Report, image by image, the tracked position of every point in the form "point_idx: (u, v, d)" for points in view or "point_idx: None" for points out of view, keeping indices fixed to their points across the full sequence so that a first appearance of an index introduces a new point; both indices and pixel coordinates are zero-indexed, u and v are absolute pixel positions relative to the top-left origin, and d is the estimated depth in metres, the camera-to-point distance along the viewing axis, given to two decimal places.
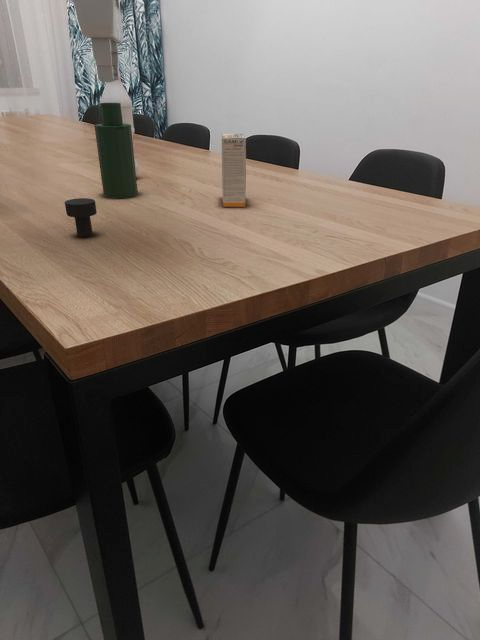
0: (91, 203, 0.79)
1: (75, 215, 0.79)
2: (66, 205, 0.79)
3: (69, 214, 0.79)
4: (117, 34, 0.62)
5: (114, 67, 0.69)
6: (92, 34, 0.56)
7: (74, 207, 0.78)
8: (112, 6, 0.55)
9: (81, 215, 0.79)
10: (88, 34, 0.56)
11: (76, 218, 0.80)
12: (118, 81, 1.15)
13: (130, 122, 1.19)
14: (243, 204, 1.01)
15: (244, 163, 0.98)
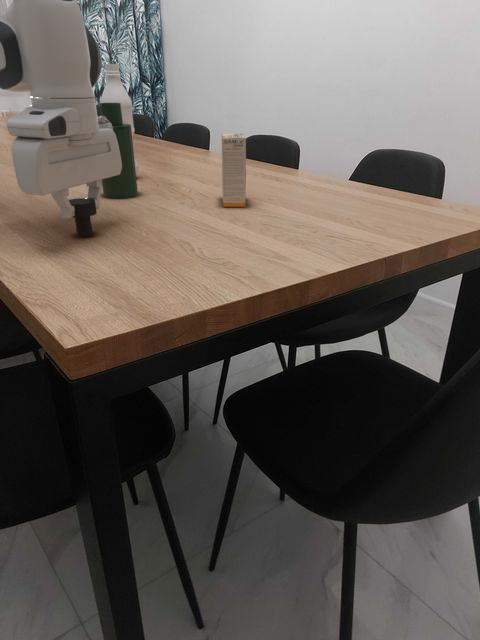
0: (91, 203, 0.79)
1: None
2: None
3: None
4: (74, 183, 0.76)
5: None
6: (29, 193, 0.71)
7: None
8: (38, 175, 0.69)
9: (81, 215, 0.79)
10: (27, 193, 0.71)
11: (76, 218, 0.80)
12: (118, 81, 1.15)
13: (130, 122, 1.19)
14: (243, 204, 1.01)
15: (244, 163, 0.98)
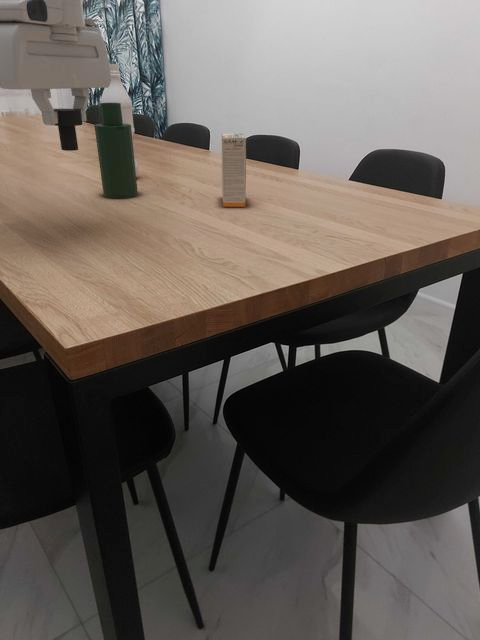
0: (76, 111, 0.73)
1: None
2: None
3: None
4: (57, 84, 0.69)
5: None
6: (6, 87, 0.64)
7: None
8: (15, 64, 0.62)
9: (65, 123, 0.72)
10: (3, 88, 0.65)
11: (60, 128, 0.74)
12: (118, 81, 1.15)
13: (130, 122, 1.19)
14: (243, 204, 1.01)
15: (244, 163, 0.98)
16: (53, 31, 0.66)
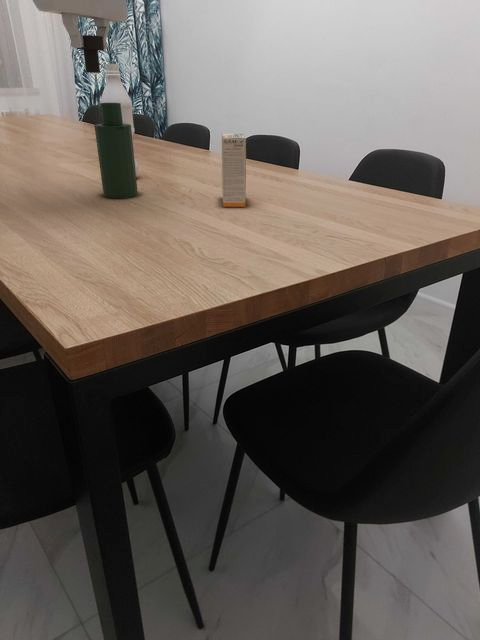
0: (99, 36, 0.85)
1: None
2: None
3: None
4: (83, 10, 0.82)
5: None
6: (42, 9, 0.77)
7: None
8: None
9: (90, 47, 0.85)
10: (40, 10, 0.77)
11: (85, 52, 0.86)
12: (118, 81, 1.15)
13: (130, 122, 1.19)
14: (243, 204, 1.01)
15: (244, 163, 0.98)
16: None
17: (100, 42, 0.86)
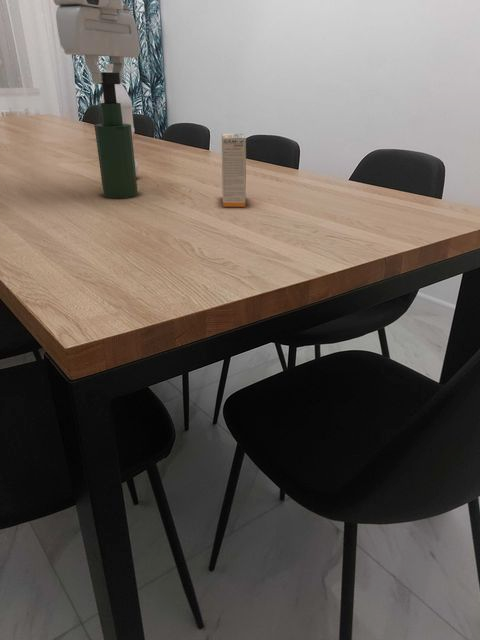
0: (116, 73, 0.97)
1: None
2: None
3: None
4: (103, 52, 0.94)
5: None
6: (69, 53, 0.89)
7: None
8: (77, 35, 0.87)
9: (108, 82, 0.97)
10: (67, 53, 0.89)
11: (104, 86, 0.98)
12: None
13: (130, 122, 1.19)
14: (243, 204, 1.01)
15: (244, 163, 0.98)
16: (101, 12, 0.91)
17: (117, 78, 0.98)
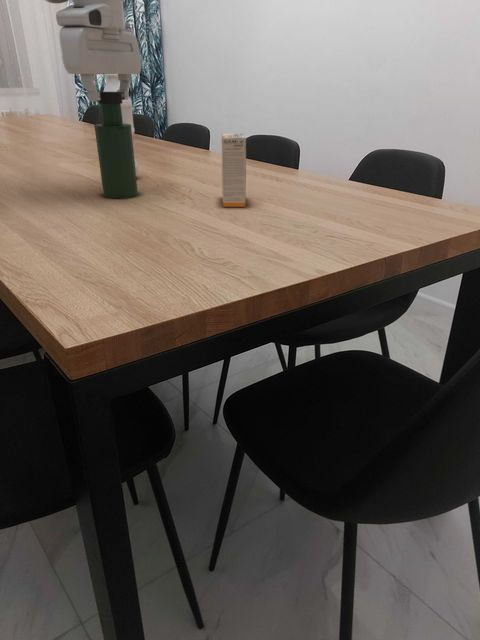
0: (118, 93, 0.99)
1: (106, 102, 0.99)
2: None
3: (101, 101, 0.99)
4: (105, 70, 0.95)
5: (122, 91, 1.03)
6: (72, 72, 0.91)
7: (105, 95, 0.98)
8: (80, 56, 0.88)
9: (110, 102, 0.99)
10: (70, 73, 0.91)
11: None
12: (118, 81, 1.15)
13: (130, 122, 1.19)
14: (243, 204, 1.01)
15: (244, 163, 0.98)
16: (104, 32, 0.92)
17: (119, 97, 1.00)
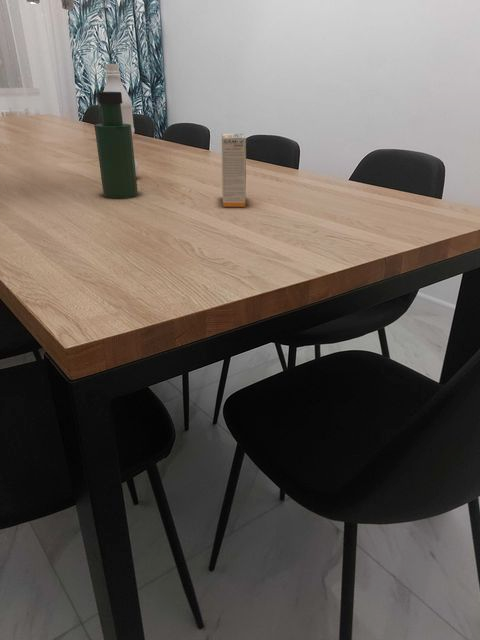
0: (118, 93, 0.99)
1: (106, 102, 0.99)
2: (99, 94, 0.98)
3: (101, 101, 0.99)
4: None
5: None
6: None
7: (105, 95, 0.98)
8: None
9: (110, 102, 0.99)
10: None
11: None
12: (118, 81, 1.15)
13: (130, 122, 1.19)
14: (243, 204, 1.01)
15: (244, 163, 0.98)
16: None
17: (119, 97, 1.00)
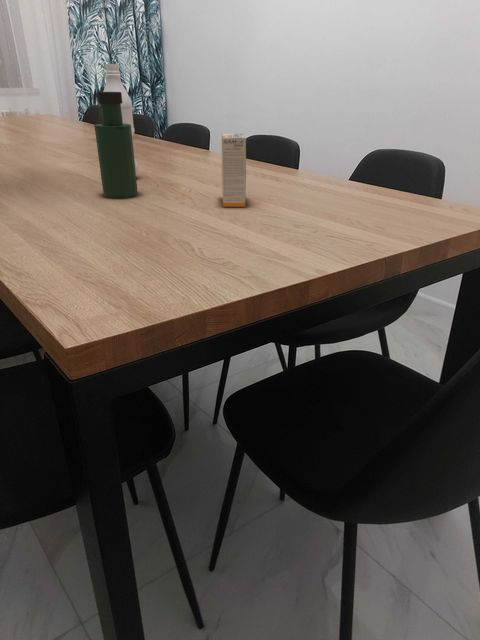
0: (118, 93, 0.99)
1: (106, 102, 0.99)
2: (99, 94, 0.98)
3: (101, 101, 0.99)
4: None
5: None
6: None
7: (105, 95, 0.98)
8: None
9: (110, 102, 0.99)
10: None
11: None
12: (118, 81, 1.15)
13: (130, 122, 1.19)
14: (243, 204, 1.01)
15: (244, 163, 0.98)
16: None
17: (119, 97, 1.00)
